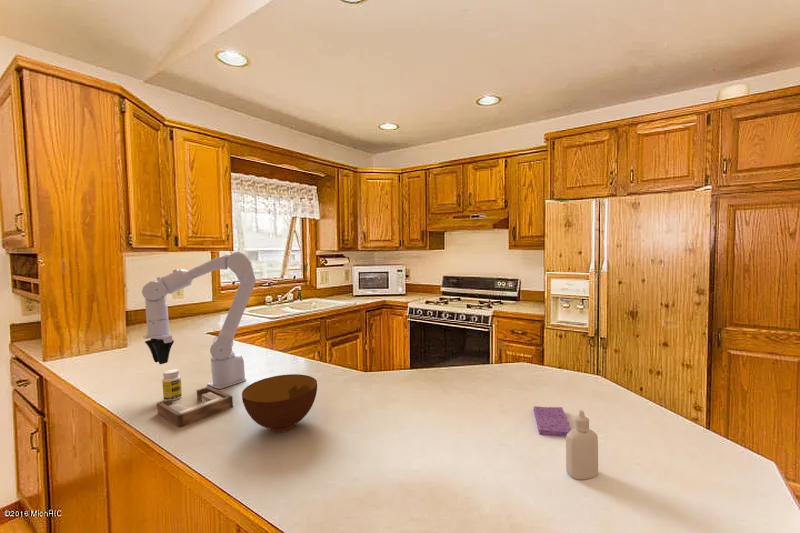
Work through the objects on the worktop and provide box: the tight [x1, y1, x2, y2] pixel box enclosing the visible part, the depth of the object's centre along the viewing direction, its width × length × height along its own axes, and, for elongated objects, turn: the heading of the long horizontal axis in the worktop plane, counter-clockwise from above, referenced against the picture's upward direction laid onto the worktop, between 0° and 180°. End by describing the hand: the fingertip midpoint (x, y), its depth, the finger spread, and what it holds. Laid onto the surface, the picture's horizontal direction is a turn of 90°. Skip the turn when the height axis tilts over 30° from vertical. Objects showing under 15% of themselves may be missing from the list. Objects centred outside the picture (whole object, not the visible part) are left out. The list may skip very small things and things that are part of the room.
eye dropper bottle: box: [565, 409, 599, 480], centre depth 68 cm, size 4×6×12 cm
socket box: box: [156, 385, 234, 428], centre depth 103 cm, size 14×14×3 cm
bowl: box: [241, 373, 318, 433], centre depth 92 cm, size 18×18×10 cm
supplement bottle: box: [161, 368, 183, 402], centre depth 112 cm, size 5×5×8 cm
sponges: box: [533, 405, 572, 438], centre depth 88 cm, size 7×13×2 cm, turn 166°
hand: (161, 362), depth 116 cm, fingers open, 3 cm apart
